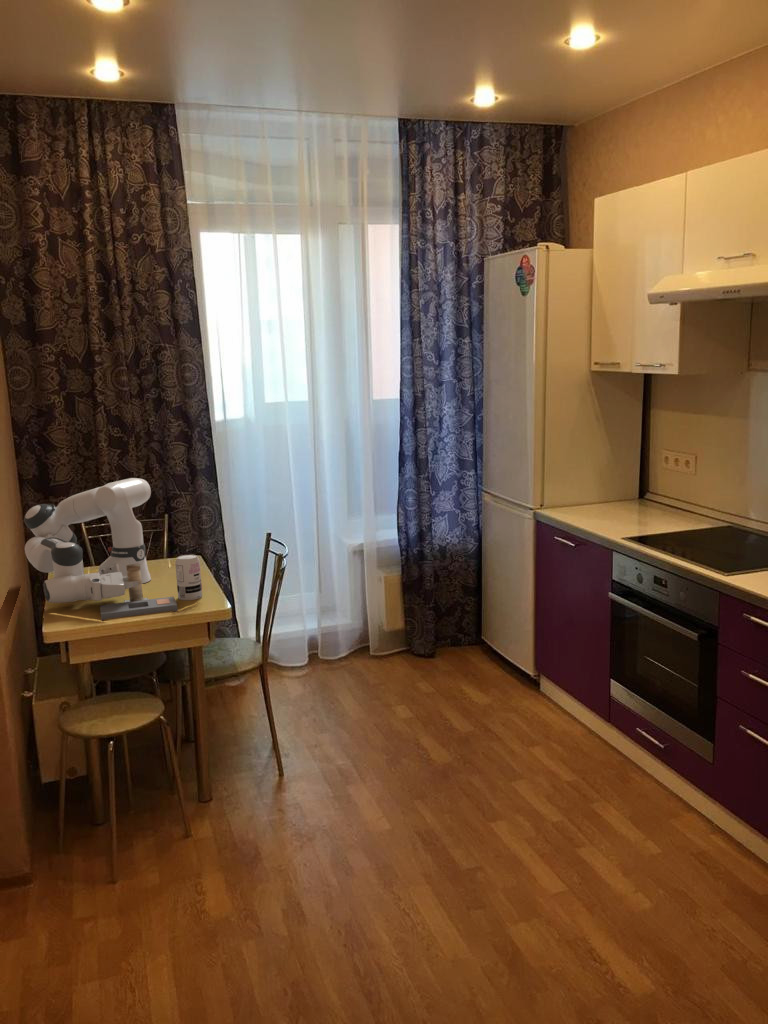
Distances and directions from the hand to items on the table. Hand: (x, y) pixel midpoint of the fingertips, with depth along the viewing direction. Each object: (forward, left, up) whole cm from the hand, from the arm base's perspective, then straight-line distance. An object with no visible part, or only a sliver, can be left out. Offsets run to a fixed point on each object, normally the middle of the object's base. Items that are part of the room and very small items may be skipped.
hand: (137, 581), depth 289 cm
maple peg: (-1, -1, -7) cm, 7 cm away
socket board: (+7, -8, -8) cm, 14 cm away
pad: (-1, -1, -8) cm, 8 cm away
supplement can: (+13, +11, -8) cm, 19 cm away
